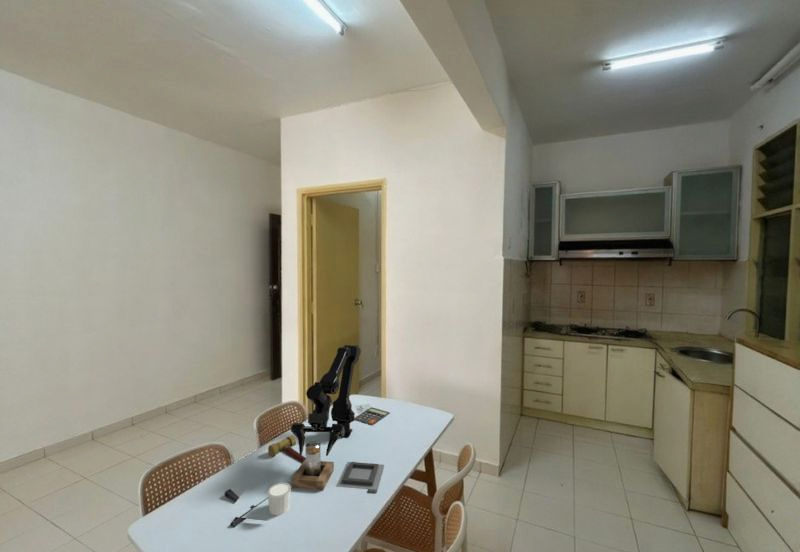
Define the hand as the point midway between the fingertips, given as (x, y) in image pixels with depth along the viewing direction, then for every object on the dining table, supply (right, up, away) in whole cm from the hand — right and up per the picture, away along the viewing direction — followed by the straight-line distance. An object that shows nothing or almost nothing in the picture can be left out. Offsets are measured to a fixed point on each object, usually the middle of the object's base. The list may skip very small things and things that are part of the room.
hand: (313, 455), depth 121 cm
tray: (+16, -9, +2) cm, 19 cm away
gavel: (-11, -9, +14) cm, 20 cm away
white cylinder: (-7, -10, -14) cm, 19 cm away
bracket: (-20, -10, -11) cm, 25 cm away
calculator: (+16, -7, +49) cm, 52 cm away
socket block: (0, -9, 0) cm, 9 cm away
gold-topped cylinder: (0, -8, 0) cm, 8 cm away
